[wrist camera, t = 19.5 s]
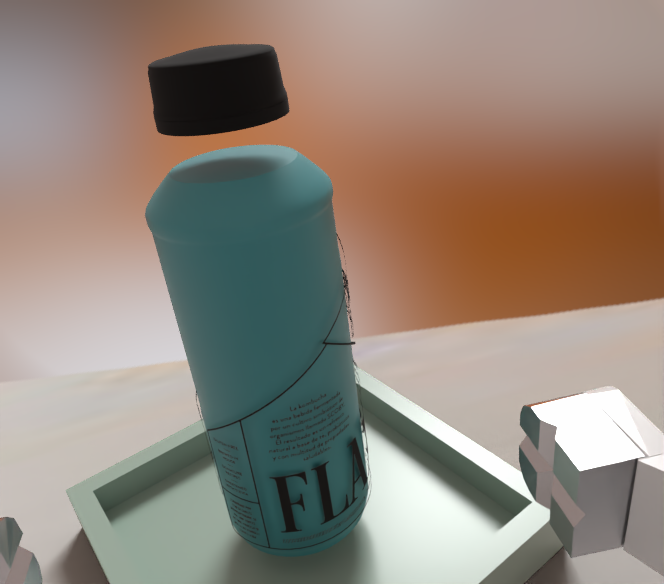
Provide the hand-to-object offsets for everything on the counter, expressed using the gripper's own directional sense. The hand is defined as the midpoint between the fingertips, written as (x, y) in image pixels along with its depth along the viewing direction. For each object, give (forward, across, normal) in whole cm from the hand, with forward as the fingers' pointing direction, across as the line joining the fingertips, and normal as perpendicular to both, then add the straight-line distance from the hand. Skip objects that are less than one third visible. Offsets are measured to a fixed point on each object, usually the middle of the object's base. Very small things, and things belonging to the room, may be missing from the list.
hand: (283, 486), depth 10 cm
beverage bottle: (+12, 0, +14) cm, 19 cm away
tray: (+12, 0, +15) cm, 20 cm away
